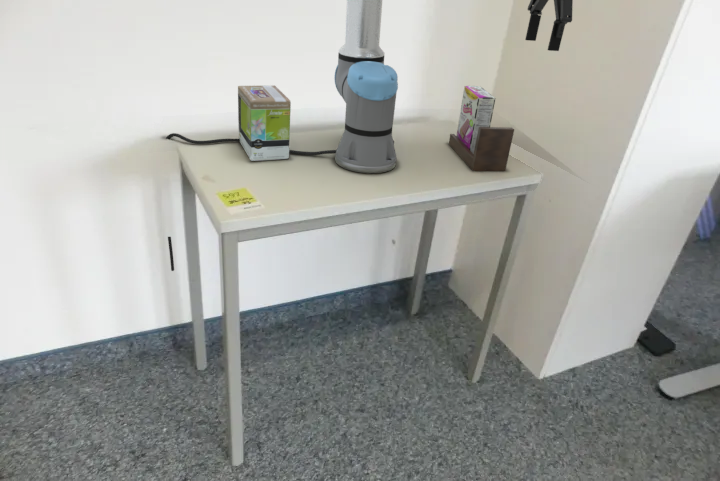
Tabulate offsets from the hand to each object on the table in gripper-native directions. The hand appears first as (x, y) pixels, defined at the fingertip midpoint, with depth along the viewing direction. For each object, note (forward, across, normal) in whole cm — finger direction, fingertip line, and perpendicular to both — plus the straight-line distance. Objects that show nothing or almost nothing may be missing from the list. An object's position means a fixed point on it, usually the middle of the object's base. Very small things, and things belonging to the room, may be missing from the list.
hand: (541, 45), depth 148 cm
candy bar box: (+28, -6, +17) cm, 33 cm away
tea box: (+28, -7, +73) cm, 78 cm away
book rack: (+28, -9, +17) cm, 34 cm away
